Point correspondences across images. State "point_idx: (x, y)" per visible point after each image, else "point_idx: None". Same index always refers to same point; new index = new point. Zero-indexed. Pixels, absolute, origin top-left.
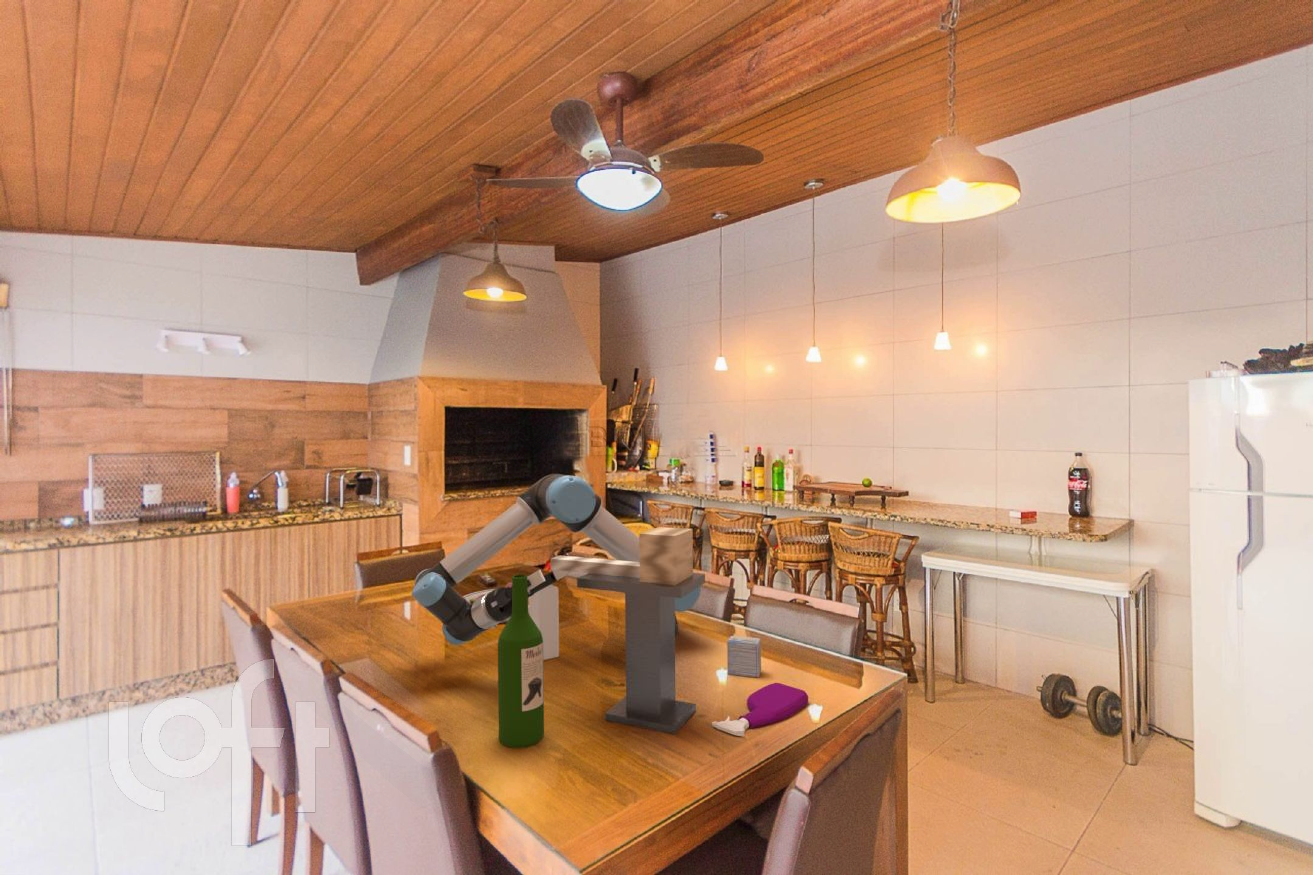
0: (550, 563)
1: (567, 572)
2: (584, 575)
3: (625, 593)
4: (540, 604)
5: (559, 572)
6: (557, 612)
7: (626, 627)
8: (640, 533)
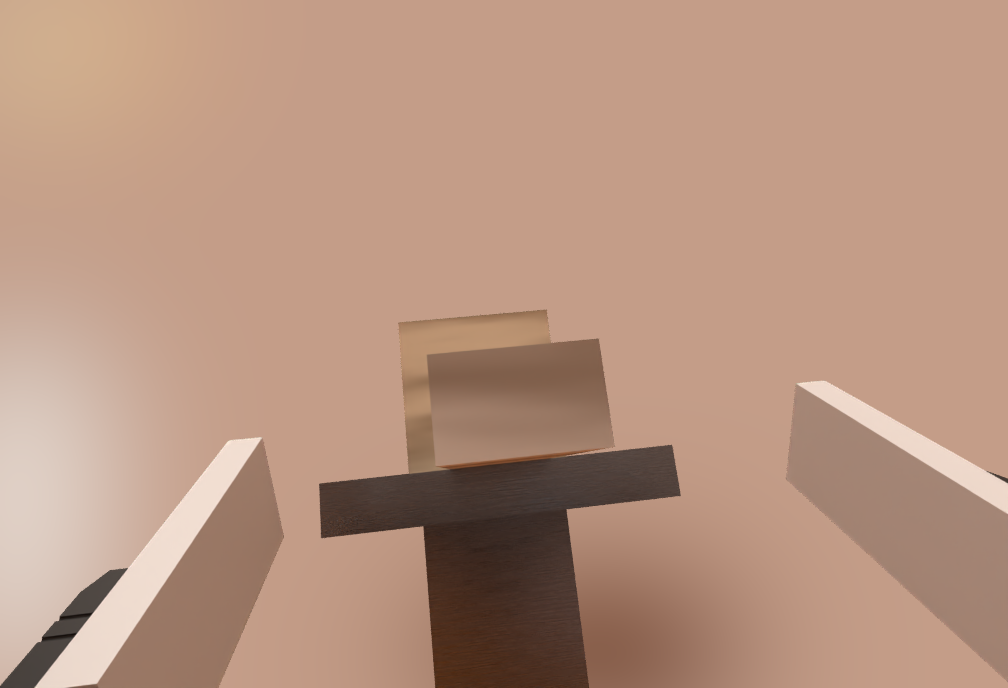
0: (605, 385)
1: (242, 609)
2: (606, 452)
3: (566, 514)
4: None
5: (181, 658)
6: None
7: (584, 652)
8: (540, 310)
